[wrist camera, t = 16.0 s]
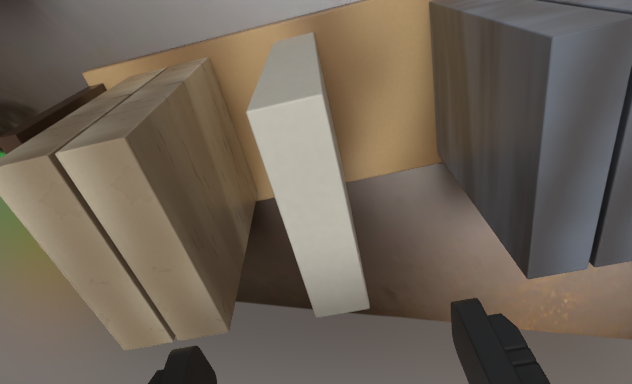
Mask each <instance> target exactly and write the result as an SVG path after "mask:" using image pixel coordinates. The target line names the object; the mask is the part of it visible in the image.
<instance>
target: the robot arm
mask: <svg viewBox="0 0 632 384" xmlns="http://www.w3.org/2000/svg"><path fill="white" fill-rule="evenodd" d="M451 321H452V335H453V341H454V345H455V348H456V351H457V354H458V357H459V359H460V362H461V364H462V367H463V370H464V372H465V374H466V377H467V380H468V382H469V384H550V382H549V380H548V379H547V377H546V375H545V374H544V372H543V370H542V369H541V367H540V365H539V364H538V363H537V361H536V358H535V357H534V355H533V354H532V352H531V350H530V348H528V346H527V343H526V341H525V340H524V338H523V336H522V335H521V333H520V331H519V330H518V328H517V327H516V326H515V325H514V324H513V323H512V322H510V321H509V320H508V319H507V318H506V317H505V316H503V315H502V314H501V313H500V314H494V315H489V316H487V314H486V312H485V310H484V308H483V307H482V305H481V303H480V301H479V300H478V299H477V298H472V299H466V300H460V301H455V302H451ZM148 384H217V379H216V375H215V372H214V370H213V369H212V367H211V365H210V364H209V362H208V361H207V359H206V358H205V356H204V354H203V353H202V351H201V350H200V348H199V347H198V346H191V347H185V348H179V349H174V350H172V351H171V352H170V354H169V356H168V359H167V362H166V365H165V368H164V370H158V371H157V372H156V373H155V375H154V376H153V377H152V379H151V380H150V382H149V383H148Z"/></svg>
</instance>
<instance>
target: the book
mask: <svg viewBox="0 0 632 384" xmlns="http://www.w3.org/2000/svg"><path fill="white" fill-rule="evenodd" d="M246 114H247V117H248V120H249V123H250V126H251V129H252V132H253V134H254V137H255V140H256V143H257V146H258V149H259V152H260V155H261V158H262V161H263V164H264V167H265V170H266V173H267V175H268V178H269V181H270V184H271V187H272V190H273V193H274V196H275V199H276V202H277V205H278V208H279V211H280V214H281V216H282V219H283V222H284V225H285V228H286V231H287V234H288V237H289V240H290V243H291V246H292V249H293V252H294V255H295V257H296V260H297V263H298V266H299V269H300V272H301V275H302V278H303V281H304V284H305V287H306V290H307V293H308V296H309V298H310V301H311V304H312V307H313V310H314V313H315V316H316V317H317V318H319V317H325V316H331V315H336V314H342V313H347V312H353V311H359V310H364V309H369V308H370V304H369V299H368V294H367V289H366V284H365V279H364V273H363V268H362V263H361V258H360V253H359V248H358V243H357V237H356V232H355V227H354V222H353V217H352V212H351V207H350V201H349V196H348V191H347V186H346V181H345V176H344V171H343V166H342V162H341V157H340V152H339V148H338V143H337V138H336V134H335V129H334V124H333V120H332V115H331V110H330V106H329V101H328V97H327V92H326V87H325V83H324V78H323V73H322V69H321V64H320V59H319V55H318V50H317V45H316V41H315V36H314V33H313V32H311V33H307V34H303V35H299V36H295V37H292V38H288V39H284V40H280V41H276V42H274V43H273V45H272V48H271V50H270V53H269V55H268V58H267V60H266V63H265V65H264V68H263V71H262V73H261V76H260V78H259V81H258V83H257V86H256V88H255V91H254V93H253V96H252V99H251V101H250V104H249V106H248V109H247V111H246Z"/></svg>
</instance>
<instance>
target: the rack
mask: <svg viewBox="0 0 632 384" xmlns="http://www.w3.org/2000/svg"><path fill="white" fill-rule="evenodd" d="M311 32H313V33H314V36H315V41H316V45H317V50H318V55H319V59H320V64H321V69H322V73H323V78H324V83H325V87H326V92H327V97H328V101H329V106H330V110H331V115H332V120H333V124H334V129H335V134H336V138H337V143H338V148H339V152H340V157H341V162H342V166H343V171H344V176H345V181H346V183H347V182H351V181H356V180H361V179H366V178H371V177H375V176H380V175H385V174H390V173H394V172H399V171H404V170H409V169H414V168H418V167H423V166H428V165H433V164H437V163H442V162H444V163H445V164H446V166H447V167H448V169H449V170H450V171H451V173H452V174H453V176H454V177H455V178H456V180H457V181H458V183H459V184H460V185H461V187H462V188H463V190H464V191H465V192H466V194H467V195H468V197H469V198H470V199H471V201H472V202H473V204H474V205H475V206H476V208H477V209H478V211H479V212H480V213H481V215H482V216H483V218H484V219H485V220H486V222H487V223H488V225H489V226H490V227H491V229H492V230H493V232H494V233H495V234H496V236H497V237H498V239H499V240H500V241H501V243H502V244H503V246H504V247H505V248H506V250H507V251H508V253H509V254H510V255H511V257H512V258H513V260H514V261H515V262H516V264H517V265H518V267H519V268H520V269H521V271H522V272H523V274H524V275H525V276H526V278H527V279H533V278H538V277H544V276H550V275H555V274H561V273H567V272H572V271H578V270H584V269H587V268H588V264H589V262H590V263H591V264H592V265H593V266H594V267H600V266H606V265H612V264H617V263H623V262H629V261H632V0H361V1H357V2H353V3H349V4H345V5H341V6H337V7H333V8H329V9H325V10H321V11H317V12H313V13H310V14H306V15H302V16H298V17H294V18H290V19H286V20H282V21H278V22H274V23H270V24H266V25H262V26H258V27H255V28H251V29H247V30H243V31H239V32H235V33H231V34H227V35H223V36H219V37H215V38H211V39H207V40H203V41H200V42H196V43H192V44H188V45H184V46H180V47H176V48H172V49H168V50H164V51H160V52H156V53H152V54H148V55H145V56H141V57H137V58H133V59H129V60H125V61H121V62H117V63H113V64H109V65H105V66H101V67H97V68H93V69H90V70H88V71H86V72H84V73H83V76H84V78H85V80H86V81H87V83H88V85H89V87H87V88H85V89H83V90H82V91H80V92H78V93H76V94H75V95H73V96H71V97H69V98H67V99H66V100H64V101H62V102H60V103H59V104H57V105H55V106H53V107H51V108H50V109H48V110H46V111H44V112H43V113H41V114H39V115H37V116H35V117H34V118H32V119H30V120H28V121H27V122H25V123H23V124H21V125H19V126H18V127H16V128H14V129H12V130H11V131H9V132H7V133H5V134H3V135H2V136H0V146H1V148H2V149H3V150H4V152H5V153H6V155H5V156H3V157H2V158H0V196H1V198H2V199H3V200H4V201H5V202H6V203H7V205H8V206H9V207H10V209H11V210H12V211H13V212H14V214H15V215H16V216H17V217H18V219H19V220H20V221H21V222H22V224H23V225H24V226H25V227H26V229H27V230H28V231H29V232H30V234H31V235H32V236H33V237H34V239H35V240H36V241H37V242H38V243H39V245H40V246H41V247H42V248H43V250H44V251H45V252H46V253H47V255H48V256H49V257H50V258H51V260H52V261H53V262H54V263H55V265H56V266H57V267H58V268H59V270H60V271H61V272H62V273H63V275H64V276H65V277H66V278H67V280H68V281H69V282H70V283H71V284H72V286H73V287H74V288H75V289H76V291H77V292H78V293H79V294H80V296H81V297H82V298H83V299H84V301H85V302H86V303H87V304H88V306H89V307H90V308H91V309H92V311H93V312H94V313H95V314H96V315H97V317H98V318H99V319H100V320H101V322H102V323H103V324H104V326H105V327H106V328H107V329H108V330H109V332H110V333H111V334H112V335H113V337H114V338H115V339H116V340H117V342H118V343H119V344H120V345H121V346H122V348H123V349H124V350H130V349H137V348H142V347H147V346H153V345H159V344H165V343H171V342H173V341H174V339H175V336H176V337H177V338H178V340H179V341H182V340H187V339H193V338H199V337H204V336H209V335H216V334H221V333H227V332H229V330H230V325H231V320H232V315H233V310H234V306H235V301H236V296H237V291H238V286H239V281H240V276H241V271H242V266H243V261H244V256H245V252H246V247H247V242H248V237H249V232H250V227H251V222H252V217H253V212H254V207H255V202H256V201H261V200H265V199H270V198H275V196H274V193H273V190H272V187H271V184H270V181H269V178H268V175H267V173H266V170H265V167H264V164H263V161H262V158H261V155H260V152H259V149H258V146H257V143H256V140H255V137H254V134H253V132H252V129H251V126H250V123H249V120H248V117H247V114H246V111H247V109H248V106H249V104H250V101H251V99H252V96H253V93H254V91H255V88H256V86H257V83H258V81H259V78H260V76H261V73H262V71H263V68H264V65H265V63H266V60H267V58H268V55H269V53H270V50H271V48H272V45H273V43H274V42H276V41H280V40H284V39H288V38H292V37H295V36H299V35H303V34H307V33H311Z"/></svg>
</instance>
